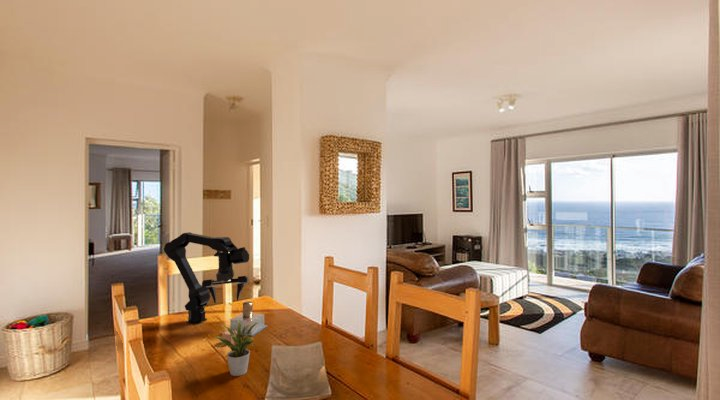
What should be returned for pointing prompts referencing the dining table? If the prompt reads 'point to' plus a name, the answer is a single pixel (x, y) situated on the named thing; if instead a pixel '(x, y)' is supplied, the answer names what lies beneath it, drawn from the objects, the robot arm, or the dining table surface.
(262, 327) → the mat
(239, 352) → the house plant
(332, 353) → the dining table surface
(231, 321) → the cover
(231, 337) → the visible block
